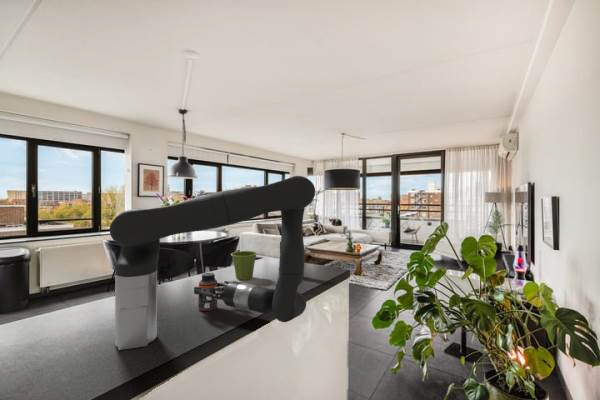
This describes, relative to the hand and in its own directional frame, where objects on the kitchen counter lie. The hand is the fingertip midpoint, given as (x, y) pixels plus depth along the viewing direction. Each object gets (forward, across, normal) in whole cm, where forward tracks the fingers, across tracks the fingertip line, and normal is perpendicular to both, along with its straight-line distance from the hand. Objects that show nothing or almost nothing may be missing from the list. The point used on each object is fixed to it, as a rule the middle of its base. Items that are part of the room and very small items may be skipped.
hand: (202, 287), depth 96 cm
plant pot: (+10, -34, +7) cm, 36 cm away
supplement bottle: (-2, 0, +7) cm, 7 cm away
